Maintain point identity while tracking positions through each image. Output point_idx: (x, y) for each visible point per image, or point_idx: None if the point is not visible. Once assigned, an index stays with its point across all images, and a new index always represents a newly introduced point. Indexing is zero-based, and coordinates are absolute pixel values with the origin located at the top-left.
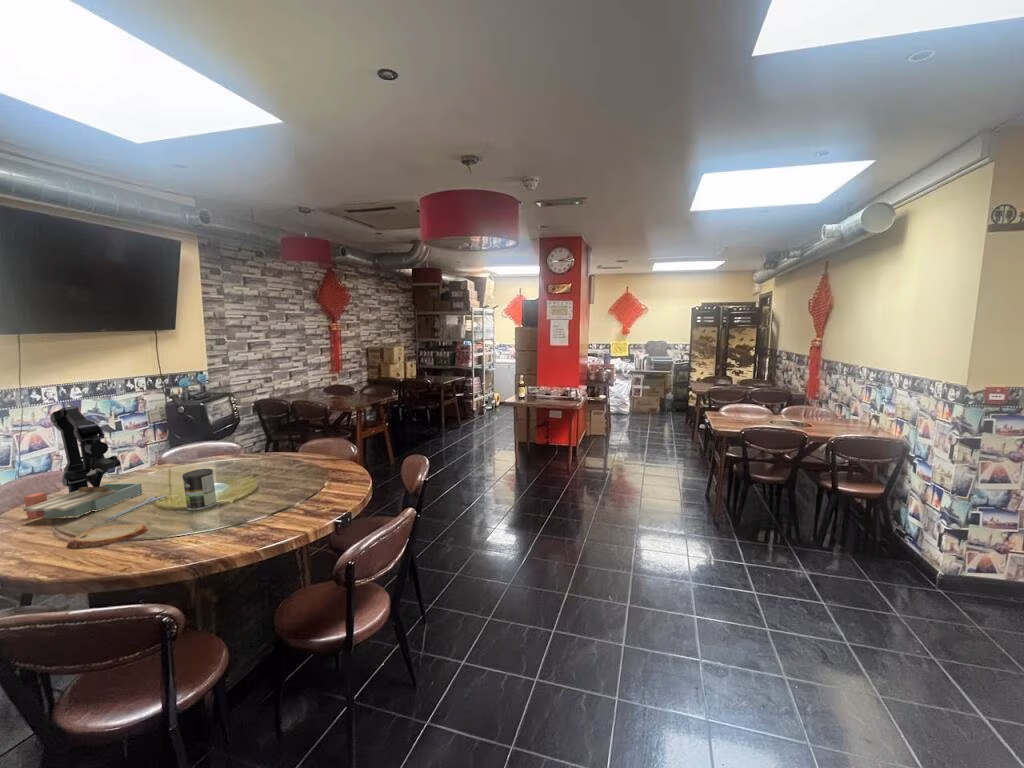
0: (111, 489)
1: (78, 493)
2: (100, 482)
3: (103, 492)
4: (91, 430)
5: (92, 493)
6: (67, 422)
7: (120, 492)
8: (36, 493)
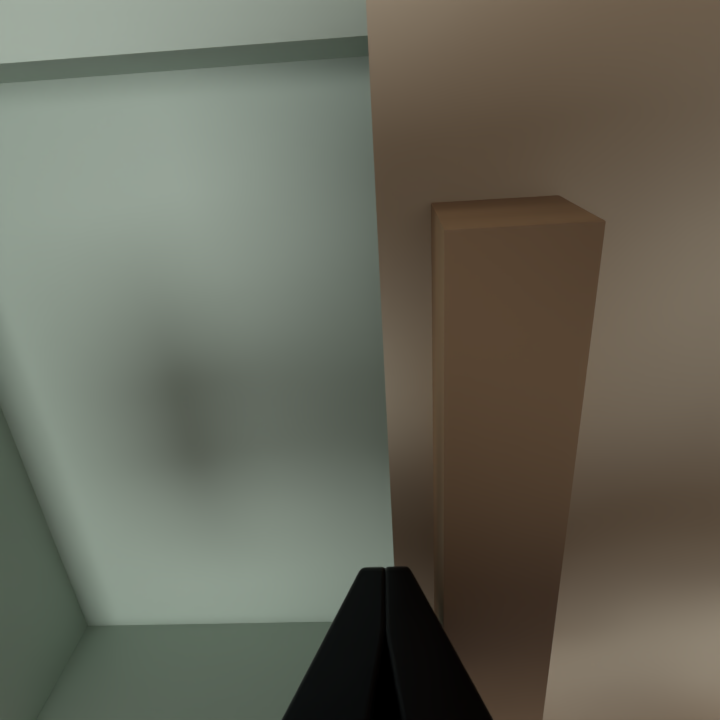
0: (36, 607)
1: (604, 700)
2: (307, 678)
3: (646, 115)
4: None
5: (677, 403)
6: None
7: None
8: None
